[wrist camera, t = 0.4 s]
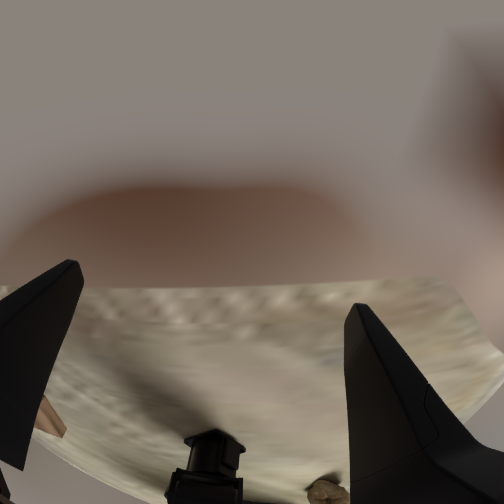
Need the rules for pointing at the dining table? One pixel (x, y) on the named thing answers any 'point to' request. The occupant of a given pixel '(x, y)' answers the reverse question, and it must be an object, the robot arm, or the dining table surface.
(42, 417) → the base brick
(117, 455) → the dining table surface
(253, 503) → the diorama
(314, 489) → the fossil
